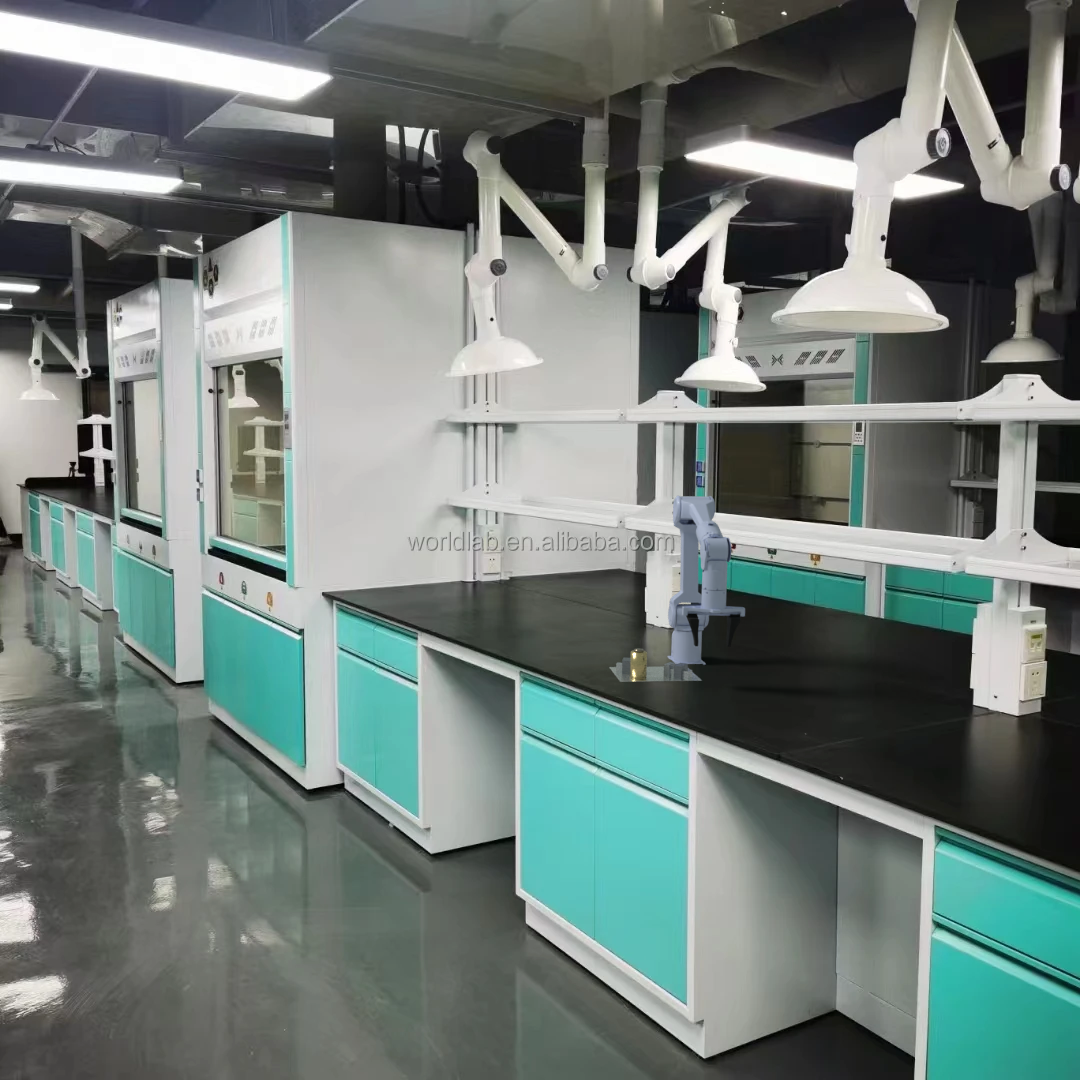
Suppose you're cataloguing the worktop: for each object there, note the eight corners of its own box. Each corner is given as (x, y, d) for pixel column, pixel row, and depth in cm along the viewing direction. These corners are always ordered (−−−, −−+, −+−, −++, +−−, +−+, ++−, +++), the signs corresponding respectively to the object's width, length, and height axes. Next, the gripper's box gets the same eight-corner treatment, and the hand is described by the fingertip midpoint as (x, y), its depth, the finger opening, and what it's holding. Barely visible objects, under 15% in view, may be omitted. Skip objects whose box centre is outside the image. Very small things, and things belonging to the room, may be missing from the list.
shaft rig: (609, 668, 259) (609, 653, 258) (686, 667, 261) (686, 653, 261) (620, 683, 244) (620, 667, 244) (701, 682, 246) (702, 666, 246)
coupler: (628, 676, 249) (629, 647, 249) (644, 676, 250) (645, 647, 249) (631, 680, 245) (632, 651, 245) (648, 680, 246) (648, 651, 245)
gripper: (685, 591, 236) (683, 648, 237) (748, 591, 236) (746, 649, 237) (681, 586, 243) (679, 642, 244) (742, 587, 243) (740, 643, 244)
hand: (712, 645), depth 241 cm, fingers open, 7 cm apart
